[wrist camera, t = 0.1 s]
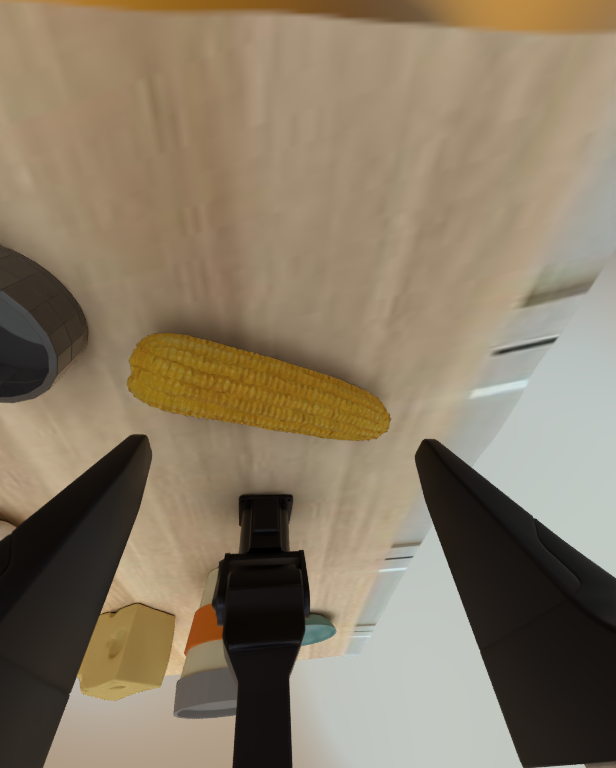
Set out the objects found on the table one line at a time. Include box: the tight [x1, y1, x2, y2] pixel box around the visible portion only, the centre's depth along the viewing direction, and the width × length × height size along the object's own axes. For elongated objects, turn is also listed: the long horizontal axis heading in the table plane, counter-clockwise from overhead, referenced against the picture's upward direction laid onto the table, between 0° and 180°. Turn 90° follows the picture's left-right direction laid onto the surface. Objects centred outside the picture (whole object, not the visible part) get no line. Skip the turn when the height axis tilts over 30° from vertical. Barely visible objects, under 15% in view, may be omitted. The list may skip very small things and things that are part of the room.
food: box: [127, 333, 391, 441], centre depth 23 cm, size 21×6×6 cm, turn 69°
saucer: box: [301, 614, 336, 646], centre depth 66 cm, size 15×15×3 cm
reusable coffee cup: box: [174, 568, 238, 719], centre depth 43 cm, size 13×13×15 cm
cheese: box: [77, 603, 175, 700], centre depth 51 cm, size 10×11×10 cm
